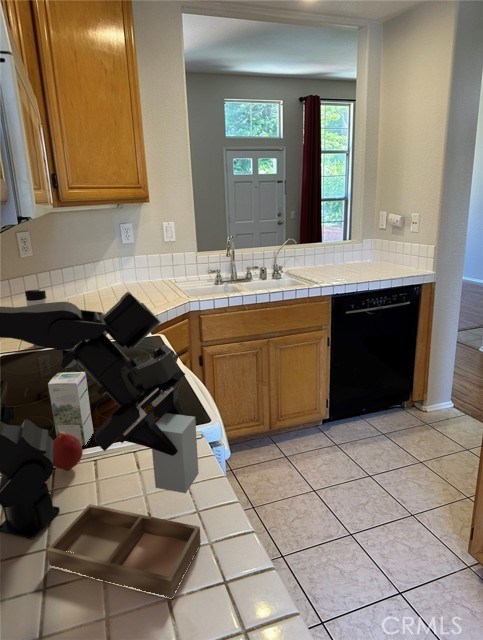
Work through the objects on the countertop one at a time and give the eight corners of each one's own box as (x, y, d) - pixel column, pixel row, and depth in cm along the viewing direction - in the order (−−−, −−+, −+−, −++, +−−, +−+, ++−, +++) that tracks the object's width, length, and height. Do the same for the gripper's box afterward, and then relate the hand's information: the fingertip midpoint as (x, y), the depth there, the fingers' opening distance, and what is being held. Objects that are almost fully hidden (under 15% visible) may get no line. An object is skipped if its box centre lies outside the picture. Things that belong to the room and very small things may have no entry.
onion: (74, 457, 85) (68, 420, 82) (90, 467, 81) (85, 429, 79) (45, 471, 80) (39, 433, 78) (61, 483, 77) (55, 443, 75)
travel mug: (29, 347, 149) (19, 290, 144) (42, 341, 155) (34, 287, 150) (44, 349, 147) (35, 291, 142) (57, 342, 154) (49, 287, 148)
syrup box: (94, 432, 93) (86, 370, 89) (85, 448, 88) (76, 381, 84) (67, 433, 93) (58, 371, 89) (57, 449, 87) (46, 383, 83)
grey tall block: (155, 487, 66) (150, 428, 63) (170, 468, 70) (165, 413, 68) (185, 493, 64) (181, 433, 62) (198, 473, 69) (195, 416, 66)
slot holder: (50, 568, 59) (46, 550, 58) (91, 520, 68) (89, 504, 67) (172, 600, 54) (170, 581, 53) (200, 544, 62) (199, 526, 62)
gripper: (103, 358, 53) (191, 449, 53) (170, 318, 71) (236, 387, 70) (59, 408, 58) (140, 493, 58) (132, 359, 75) (194, 424, 75)
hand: (183, 443), depth 65 cm, fingers closed on grey tall block, 5 cm apart
